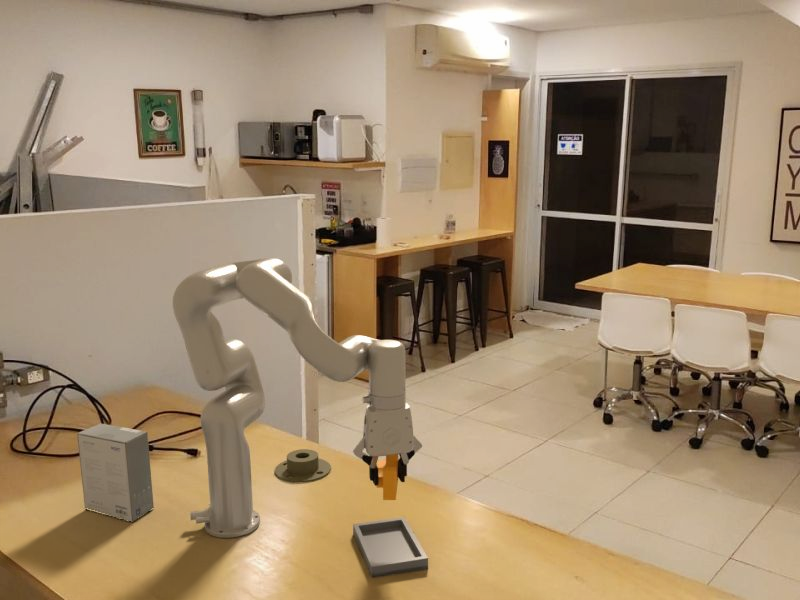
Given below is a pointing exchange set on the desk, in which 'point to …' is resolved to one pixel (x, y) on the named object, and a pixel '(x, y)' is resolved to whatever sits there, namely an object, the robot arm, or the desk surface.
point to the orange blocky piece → (388, 477)
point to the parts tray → (389, 547)
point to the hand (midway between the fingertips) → (388, 480)
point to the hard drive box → (116, 471)
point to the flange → (302, 467)
